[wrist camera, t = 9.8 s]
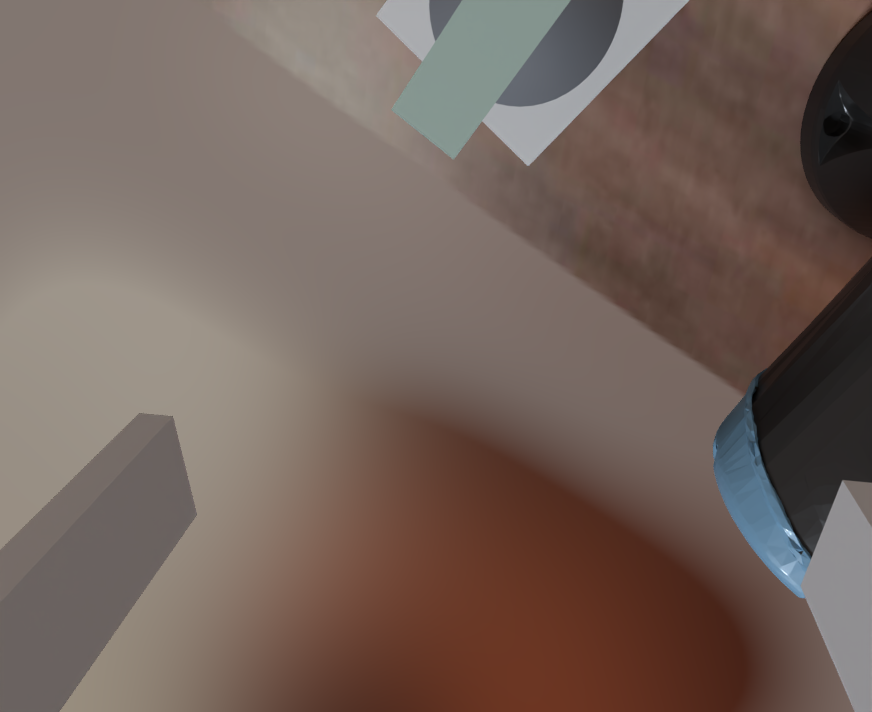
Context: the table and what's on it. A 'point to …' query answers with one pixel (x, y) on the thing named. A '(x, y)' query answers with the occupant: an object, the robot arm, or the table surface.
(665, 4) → the base
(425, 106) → the cap
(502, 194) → the table surface
